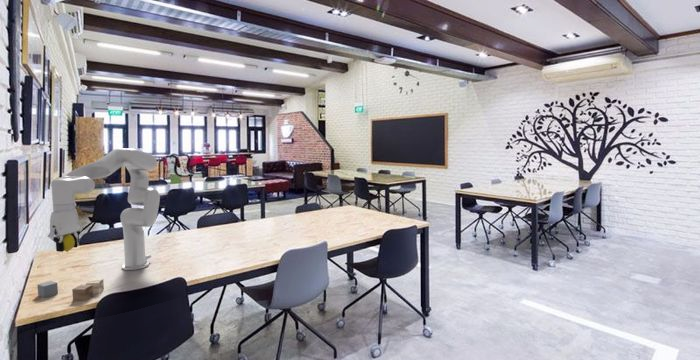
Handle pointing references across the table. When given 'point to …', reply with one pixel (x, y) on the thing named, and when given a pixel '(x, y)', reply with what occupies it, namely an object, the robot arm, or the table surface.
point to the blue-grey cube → (47, 289)
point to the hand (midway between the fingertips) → (67, 248)
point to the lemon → (68, 242)
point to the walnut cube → (82, 292)
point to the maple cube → (96, 285)
